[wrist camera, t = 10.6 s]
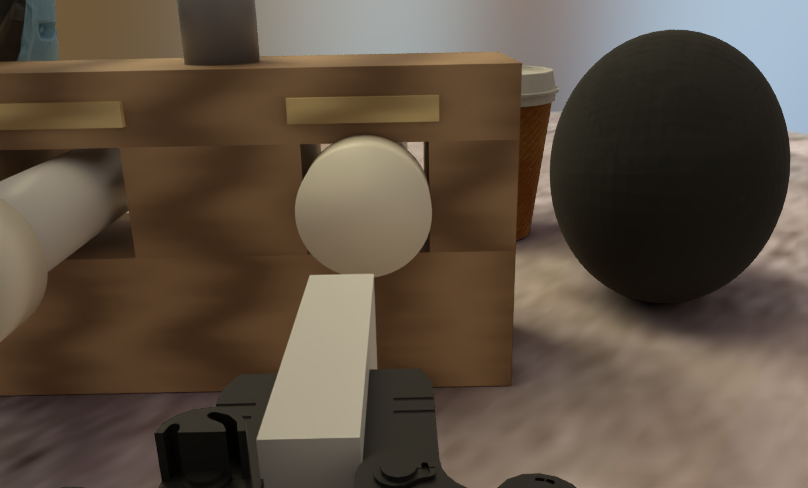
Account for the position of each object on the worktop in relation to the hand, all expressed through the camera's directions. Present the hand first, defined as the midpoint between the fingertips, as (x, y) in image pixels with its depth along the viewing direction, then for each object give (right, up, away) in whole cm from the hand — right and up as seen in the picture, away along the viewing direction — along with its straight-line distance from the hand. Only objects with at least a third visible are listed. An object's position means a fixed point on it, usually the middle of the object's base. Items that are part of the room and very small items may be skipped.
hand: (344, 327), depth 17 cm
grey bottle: (-7, +10, +14) cm, 18 cm away
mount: (-6, -4, +19) cm, 20 cm away
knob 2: (0, +3, +18) cm, 18 cm away
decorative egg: (+16, -1, +25) cm, 29 cm away
